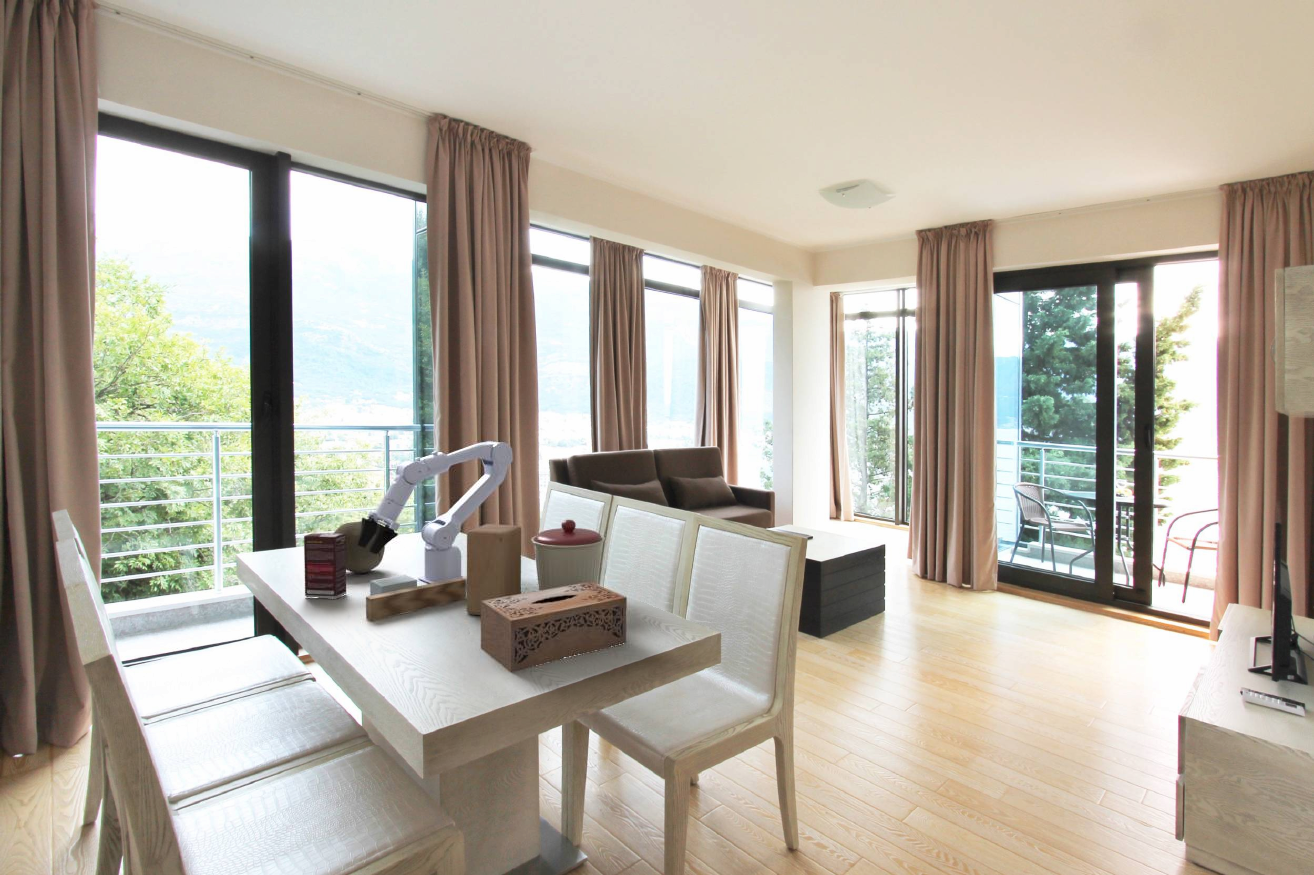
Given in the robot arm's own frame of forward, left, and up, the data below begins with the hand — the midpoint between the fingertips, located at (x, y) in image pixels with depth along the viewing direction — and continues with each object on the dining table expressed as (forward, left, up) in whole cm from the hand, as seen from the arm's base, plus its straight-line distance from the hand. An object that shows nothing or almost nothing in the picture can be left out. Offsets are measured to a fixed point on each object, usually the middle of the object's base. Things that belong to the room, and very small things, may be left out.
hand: (366, 549), depth 167 cm
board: (-3, +22, -11) cm, 25 cm away
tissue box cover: (-11, +64, -12) cm, 66 cm away
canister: (-31, +44, -11) cm, 55 cm away
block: (-3, +9, -11) cm, 15 cm away
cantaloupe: (-6, -20, -11) cm, 23 cm away
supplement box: (+9, -3, -11) cm, 15 cm away
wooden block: (-15, +36, -11) cm, 41 cm away
